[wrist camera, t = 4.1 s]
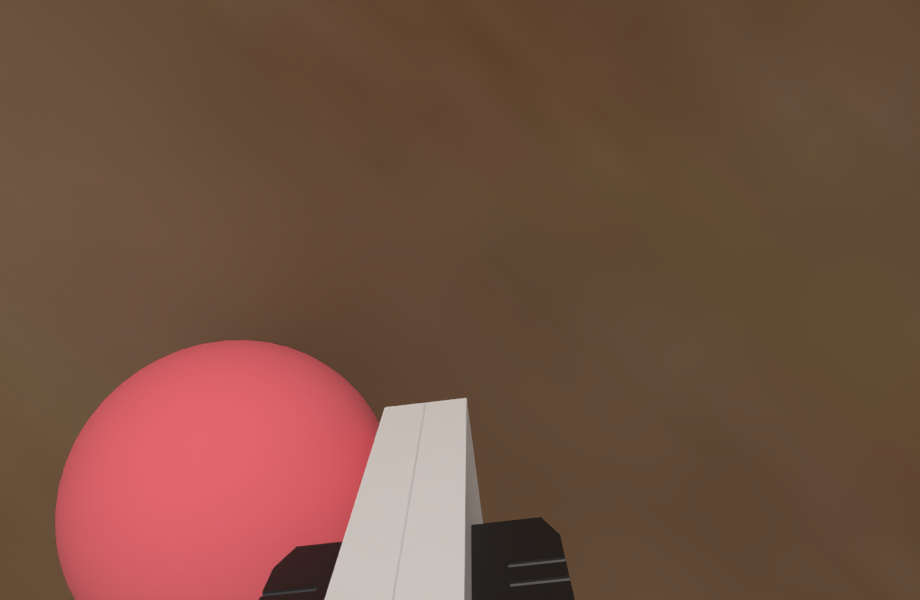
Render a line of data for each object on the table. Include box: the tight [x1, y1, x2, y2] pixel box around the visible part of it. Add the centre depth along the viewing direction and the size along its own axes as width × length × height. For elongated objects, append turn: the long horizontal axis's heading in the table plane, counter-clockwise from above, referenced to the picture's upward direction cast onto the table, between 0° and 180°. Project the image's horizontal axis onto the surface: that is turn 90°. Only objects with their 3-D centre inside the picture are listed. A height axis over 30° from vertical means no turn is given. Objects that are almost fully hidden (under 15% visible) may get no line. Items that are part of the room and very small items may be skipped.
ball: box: [55, 340, 379, 600], centre depth 14 cm, size 6×6×6 cm
